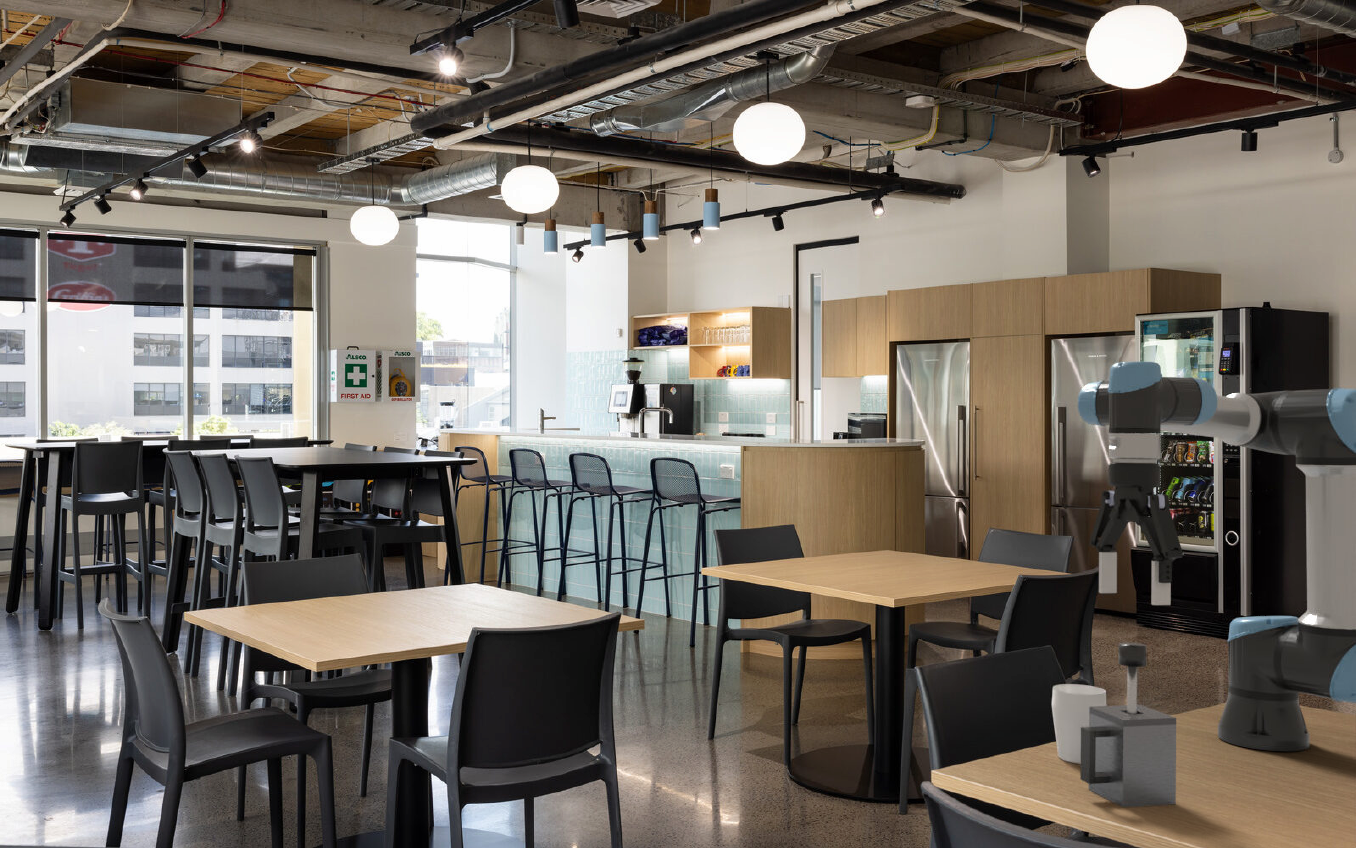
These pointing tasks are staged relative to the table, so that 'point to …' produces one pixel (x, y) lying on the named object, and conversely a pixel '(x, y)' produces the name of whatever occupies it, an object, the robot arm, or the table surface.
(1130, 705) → the plunger
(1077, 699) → the cup
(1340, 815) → the table surface
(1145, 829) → the table surface
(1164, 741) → the grey box with handle
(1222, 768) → the table surface
